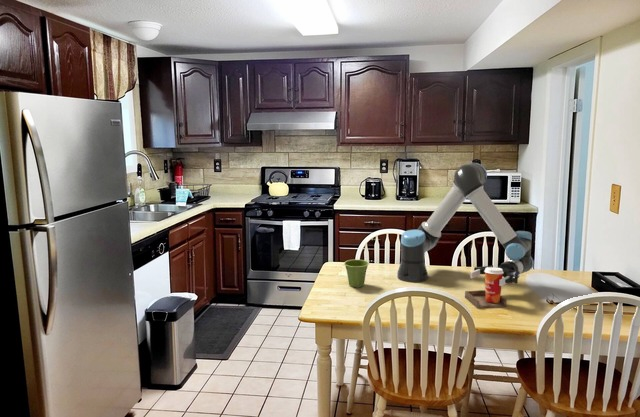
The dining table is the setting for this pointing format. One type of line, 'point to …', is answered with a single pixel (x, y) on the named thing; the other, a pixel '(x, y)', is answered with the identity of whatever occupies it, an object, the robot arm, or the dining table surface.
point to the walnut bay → (482, 299)
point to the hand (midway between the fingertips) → (485, 279)
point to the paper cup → (493, 284)
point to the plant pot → (356, 272)
